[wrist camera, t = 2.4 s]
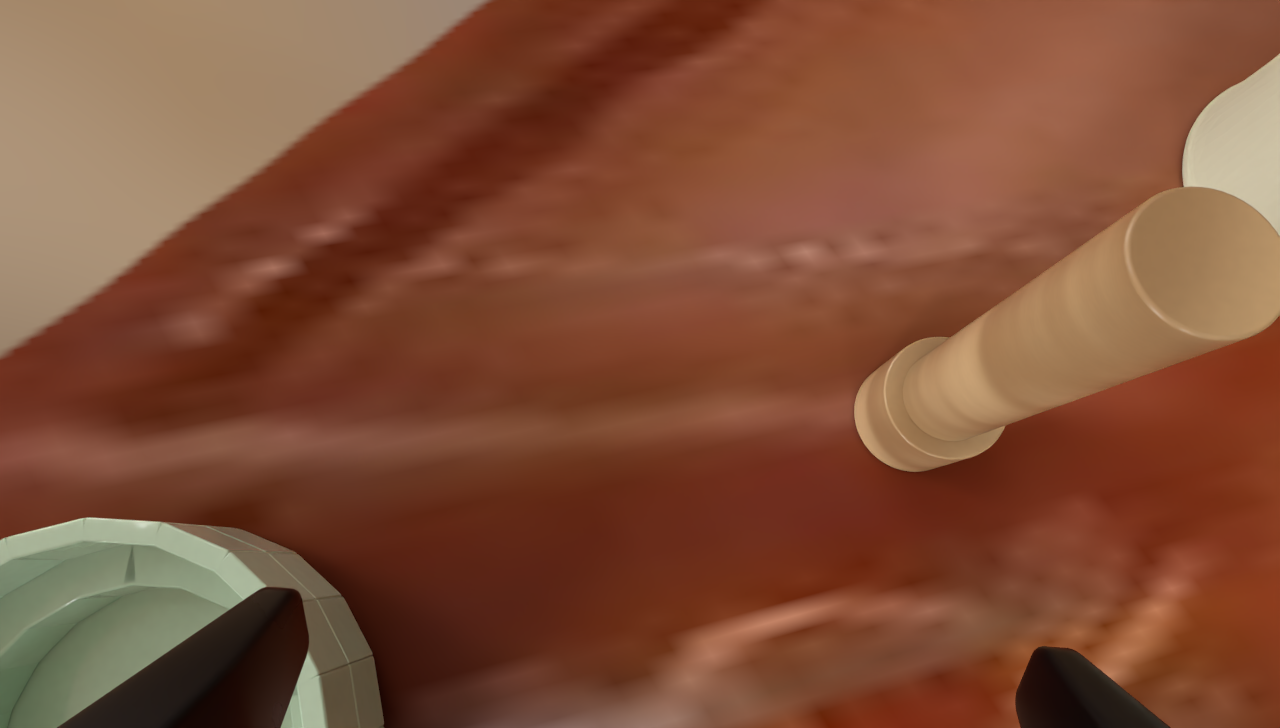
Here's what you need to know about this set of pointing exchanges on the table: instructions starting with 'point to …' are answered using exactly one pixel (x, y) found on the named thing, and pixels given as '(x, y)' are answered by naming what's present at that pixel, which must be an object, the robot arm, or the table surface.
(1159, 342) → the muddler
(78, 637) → the bowl
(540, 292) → the table surface
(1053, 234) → the table surface
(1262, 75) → the can
